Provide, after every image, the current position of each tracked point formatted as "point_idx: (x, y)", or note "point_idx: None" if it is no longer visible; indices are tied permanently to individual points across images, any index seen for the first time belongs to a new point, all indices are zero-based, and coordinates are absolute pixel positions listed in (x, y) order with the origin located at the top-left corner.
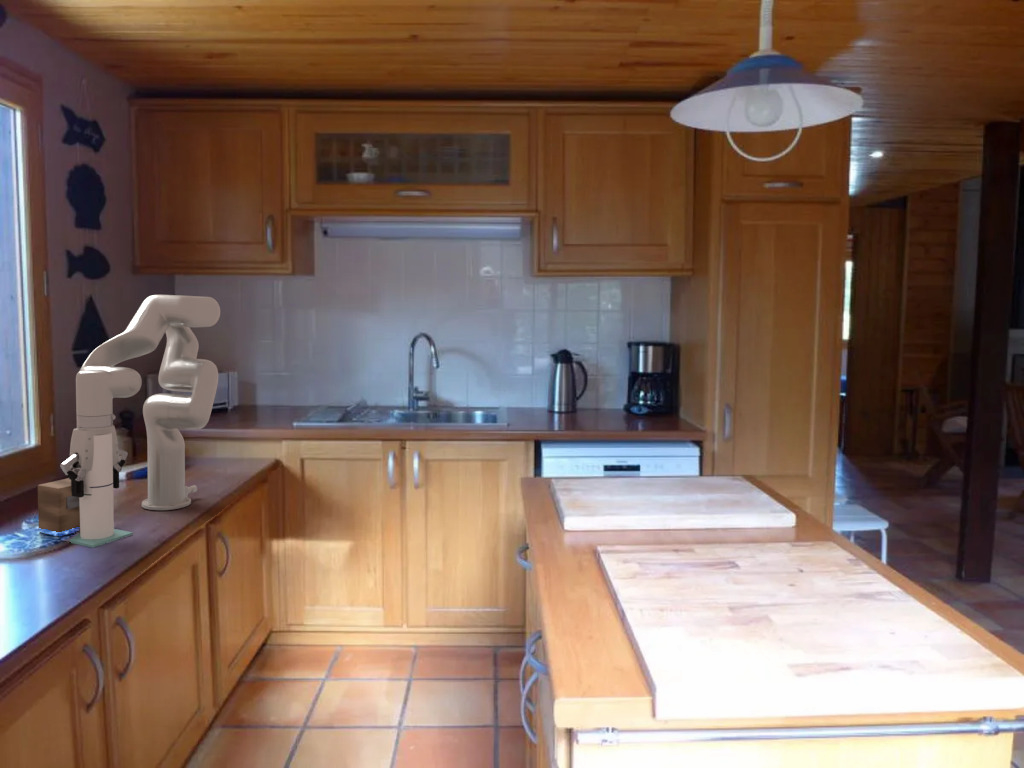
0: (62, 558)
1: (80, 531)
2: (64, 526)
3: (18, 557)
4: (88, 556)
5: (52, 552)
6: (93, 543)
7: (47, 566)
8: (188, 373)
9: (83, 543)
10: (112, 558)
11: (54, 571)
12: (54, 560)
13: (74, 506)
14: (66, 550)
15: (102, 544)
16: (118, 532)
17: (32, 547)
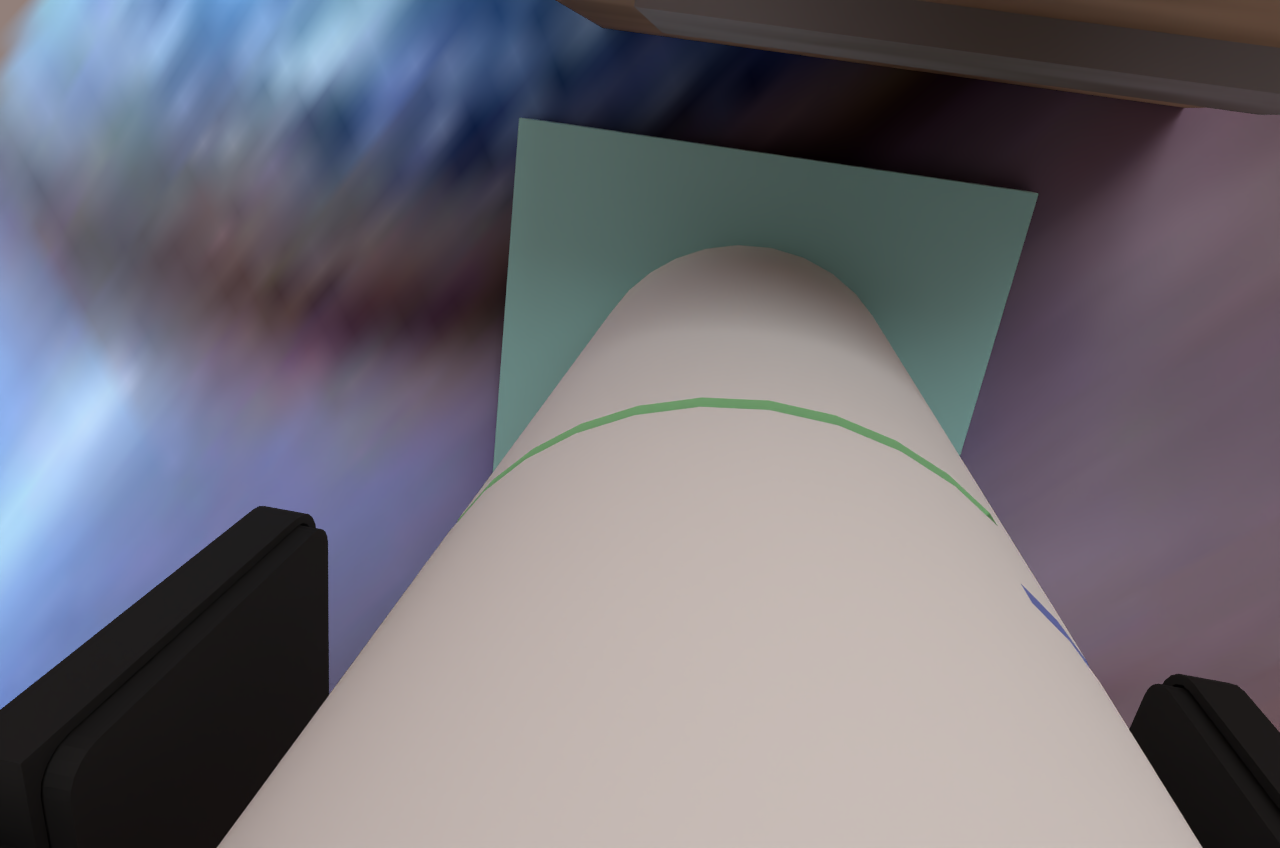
0: (216, 505)
1: (604, 321)
2: (655, 26)
3: (46, 165)
4: (335, 637)
5: (266, 331)
6: None
7: (62, 527)
8: None
9: (494, 450)
10: None
11: (37, 630)
12: (159, 484)
13: (796, 48)
14: (354, 399)
15: None
16: None
17: (266, 40)
